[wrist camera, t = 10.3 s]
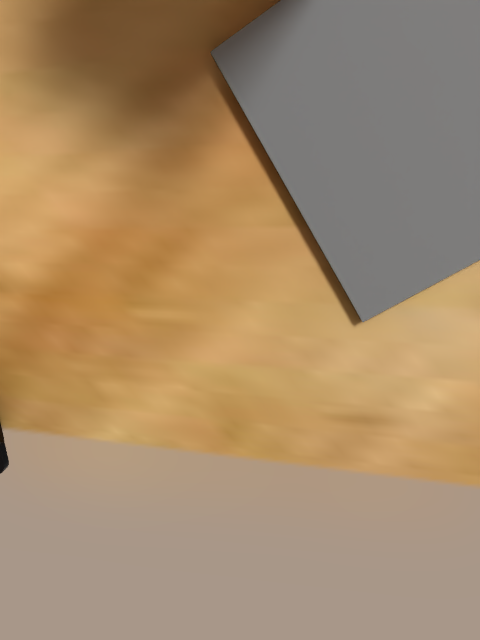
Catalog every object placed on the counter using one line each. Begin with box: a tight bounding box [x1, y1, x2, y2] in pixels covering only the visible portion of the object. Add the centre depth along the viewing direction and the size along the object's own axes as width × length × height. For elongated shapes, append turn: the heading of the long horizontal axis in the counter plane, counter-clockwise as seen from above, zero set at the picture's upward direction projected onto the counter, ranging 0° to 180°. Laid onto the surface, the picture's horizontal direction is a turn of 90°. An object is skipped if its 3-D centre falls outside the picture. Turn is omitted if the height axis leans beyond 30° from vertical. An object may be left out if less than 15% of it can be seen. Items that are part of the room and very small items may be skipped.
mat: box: [211, 0, 480, 322], centre depth 17 cm, size 12×12×1 cm
